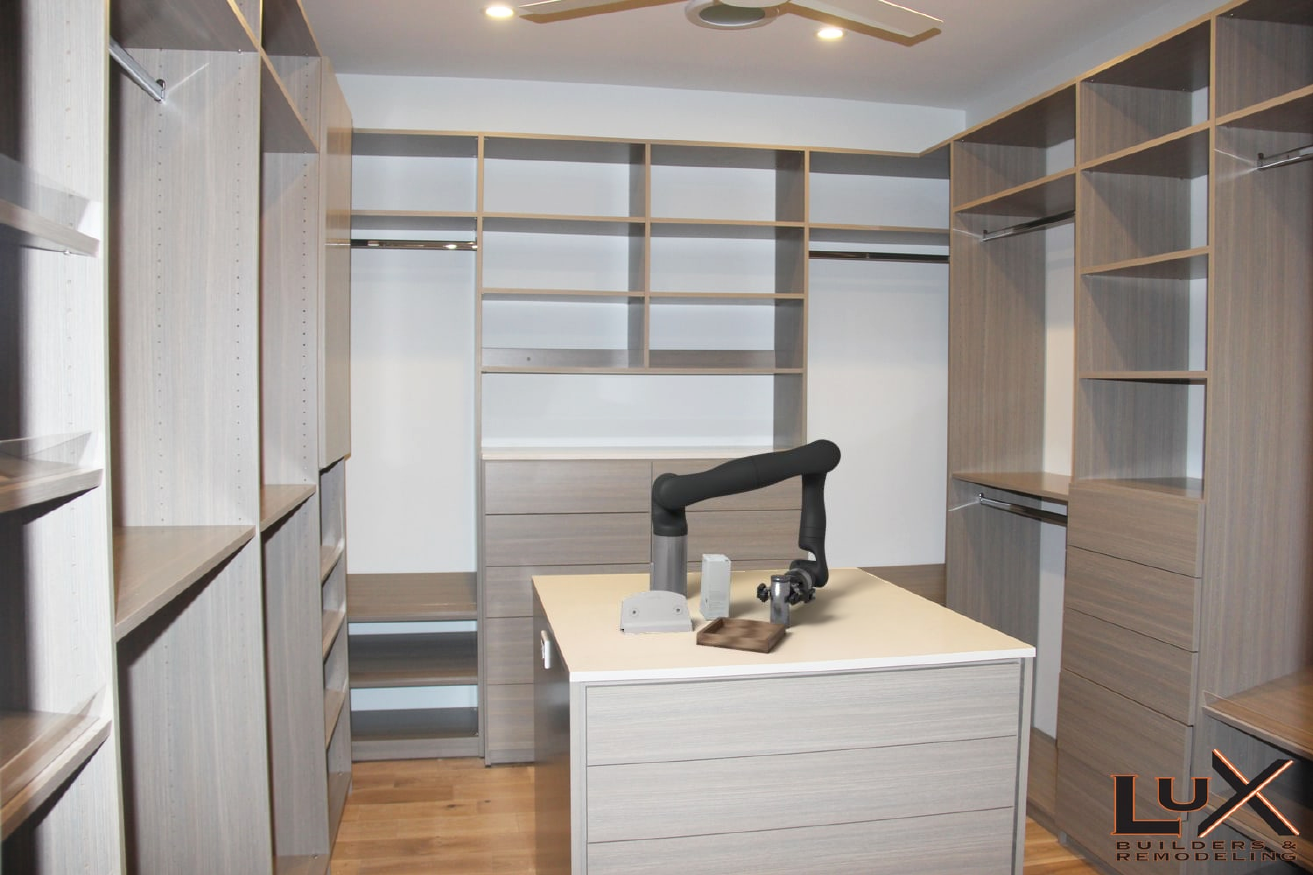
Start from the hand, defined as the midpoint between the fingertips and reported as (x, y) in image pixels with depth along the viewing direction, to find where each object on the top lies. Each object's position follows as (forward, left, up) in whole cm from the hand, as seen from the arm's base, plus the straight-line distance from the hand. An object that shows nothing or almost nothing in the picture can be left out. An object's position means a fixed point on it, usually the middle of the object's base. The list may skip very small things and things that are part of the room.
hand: (777, 599), depth 211 cm
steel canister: (0, +2, -7) cm, 7 cm away
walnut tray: (-5, -12, -7) cm, 14 cm away
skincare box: (-17, +5, -7) cm, 19 cm away
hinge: (-26, -11, -7) cm, 29 cm away
